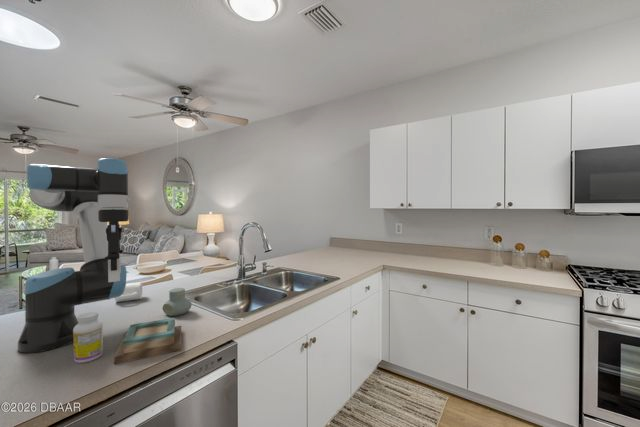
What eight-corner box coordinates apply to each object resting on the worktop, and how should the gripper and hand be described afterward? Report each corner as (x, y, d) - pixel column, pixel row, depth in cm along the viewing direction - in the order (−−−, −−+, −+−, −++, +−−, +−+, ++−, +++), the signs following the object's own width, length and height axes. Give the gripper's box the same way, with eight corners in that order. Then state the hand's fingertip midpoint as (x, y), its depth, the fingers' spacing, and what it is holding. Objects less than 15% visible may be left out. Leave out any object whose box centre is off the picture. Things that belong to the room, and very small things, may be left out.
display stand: (114, 363, 78) (114, 344, 78) (124, 341, 92) (123, 324, 92) (181, 350, 86) (181, 332, 86) (181, 331, 99) (181, 315, 99)
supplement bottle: (80, 354, 84) (79, 312, 83) (106, 350, 86) (105, 309, 86) (69, 365, 77) (68, 320, 77) (97, 361, 80) (97, 317, 79)
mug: (118, 299, 134) (118, 282, 134) (142, 296, 138) (142, 280, 138) (112, 307, 123) (112, 289, 123) (138, 303, 128) (138, 286, 128)
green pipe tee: (194, 312, 117) (194, 289, 117) (176, 319, 110) (176, 294, 110) (177, 308, 122) (177, 285, 122) (159, 314, 115) (159, 290, 115)
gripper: (128, 208, 78) (130, 283, 78) (128, 209, 98) (129, 269, 98) (94, 208, 74) (95, 287, 74) (101, 210, 94) (102, 272, 94)
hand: (115, 277), depth 86 cm, fingers open, 13 cm apart
